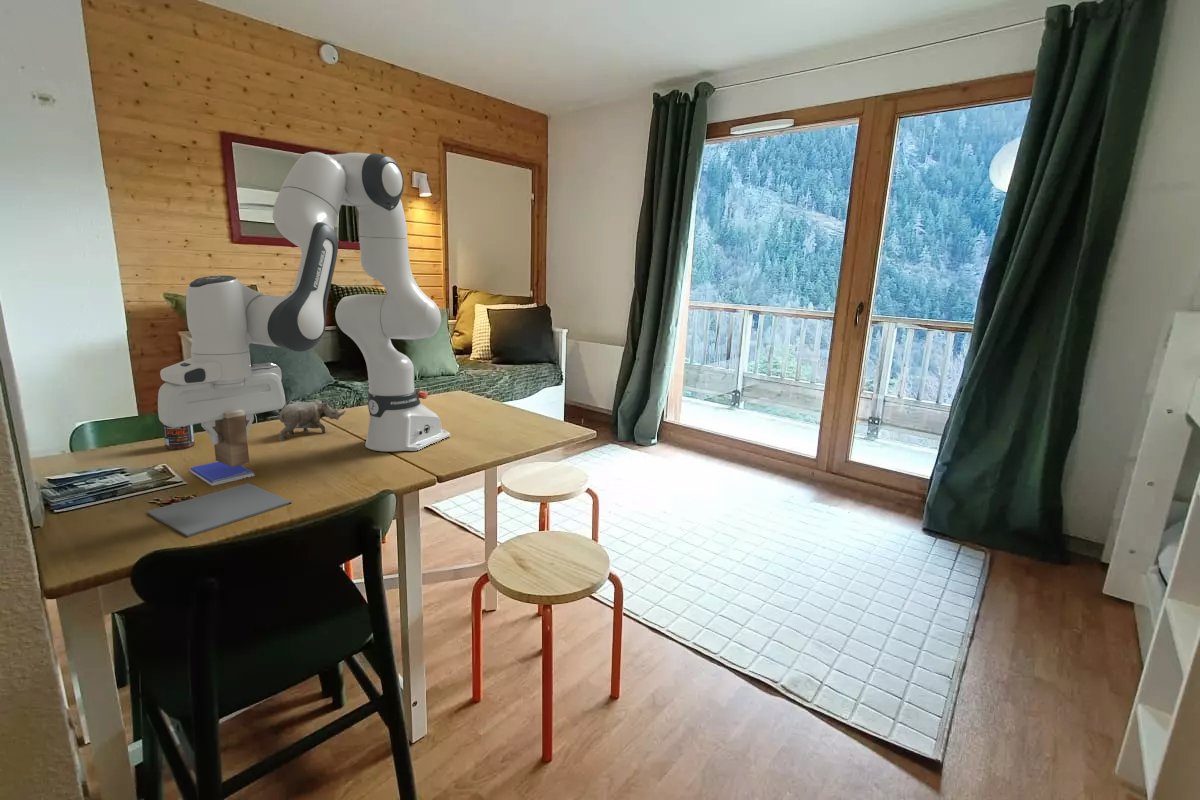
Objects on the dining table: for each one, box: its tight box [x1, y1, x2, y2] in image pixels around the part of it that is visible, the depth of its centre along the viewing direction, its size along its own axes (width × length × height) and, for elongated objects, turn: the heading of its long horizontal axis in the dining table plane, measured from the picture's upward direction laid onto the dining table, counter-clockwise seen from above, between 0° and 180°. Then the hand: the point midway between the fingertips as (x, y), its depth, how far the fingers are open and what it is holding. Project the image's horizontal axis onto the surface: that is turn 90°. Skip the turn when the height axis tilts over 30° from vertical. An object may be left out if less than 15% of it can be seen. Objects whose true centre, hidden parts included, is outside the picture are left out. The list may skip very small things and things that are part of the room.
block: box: [212, 410, 250, 467], centre depth 105 cm, size 3×6×10 cm, turn 58°
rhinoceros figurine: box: [278, 399, 346, 442], centre depth 155 cm, size 8×14×15 cm
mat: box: [146, 482, 292, 538], centre depth 108 cm, size 18×16×1 cm
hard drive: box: [189, 461, 255, 487], centre depth 125 cm, size 2×8×12 cm
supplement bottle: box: [162, 423, 196, 450], centre depth 140 cm, size 6×6×11 cm
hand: (230, 440), depth 105 cm, fingers closed on block, 3 cm apart
